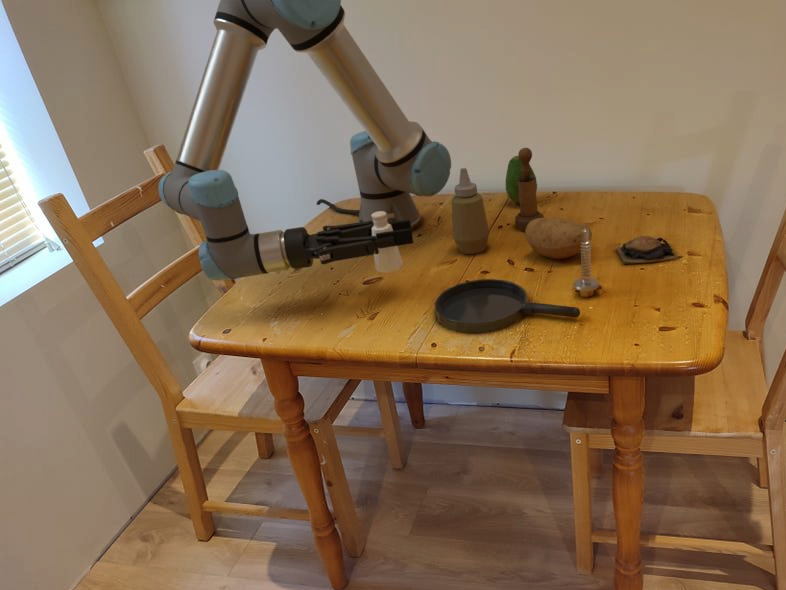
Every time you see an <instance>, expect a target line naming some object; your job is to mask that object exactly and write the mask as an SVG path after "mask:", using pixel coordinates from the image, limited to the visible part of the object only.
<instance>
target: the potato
mask: <svg viewBox="0 0 786 590" xmlns="http://www.w3.org/2000/svg"><path fill="white" fill-rule="evenodd" d="M585 228H586V229H589V240H590V242H591V241H592V237H593V232H592V229H591V228H590V227H589V226H587V224H584V223H582V222H579V221H573V220H569V219H562V218H550V217H549V218H548V217H543V218H538V219H534V220H532V221H530V222H529V224H528V225H527V227H526V231H524V236H525V240H526V242H527V244H528V245H529V246H530V248H532V251H534V252H536V254H537V253H538V254H539V255H540V256H543V257H546V258H548V259H552V260H563V259H567V258H570V257H574V256H577V255H578V254H580V253H581V245H582V244H581V242H582V230H583V229H585Z"/></svg>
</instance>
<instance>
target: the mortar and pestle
mask: <svg viewBox="0 0 786 590" xmlns="http://www.w3.org/2000/svg"><path fill="white" fill-rule="evenodd" d="M517 156H519V159H520V160H521V162H522V164H523V167H522V168H521V172H522V176H523V178H520V179H519V180H518V187H519V199H520V204H519V211H520V212H518V213H517V215H516V216H515V218H514V223H515V228H516V230H519V231H521V232H525V231H526V227H527V225H528V224H529V222H530V221H532V220H534V219H538V218H544V214H543V213H542V212H540V211H538V202H537V190H536V182H537V179H536V180H535V178H534V177H530V174H531V168H532V167H531V168H530V167H529V164H530V162H531V160H532V157H533V151H532V149H531V148H529V147H523V148H520V149H519V151H518V155H517Z"/></svg>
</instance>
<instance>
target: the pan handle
mask: <svg viewBox="0 0 786 590" xmlns="http://www.w3.org/2000/svg"><path fill="white" fill-rule="evenodd" d="M522 306H523V307H522V312H523V313H524V314H525V315H533V314H539V315H548V316H556V317H557V316H558V317H566V318H572V319H573V318H574V319H576V318H579V316H580V315H581V309H580V308H579V307H576V306H568V305H557V304H550V303H541V302H533V301H528V302H524V303H523V304H522Z"/></svg>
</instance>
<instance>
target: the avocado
mask: <svg viewBox="0 0 786 590" xmlns="http://www.w3.org/2000/svg"><path fill="white" fill-rule="evenodd" d="M522 167H523V164H522V162H521V160H520V159H519V156H518V155H514V156H513V157H512V158H510V160H509V161H508V164H507V169H506V175H505V191H506V193H507V196H508V198H509V199H510V200H511V201H512V202H514V203H515V204H519V205H520V199H519V187H518V180H519V179H520V178H523V176H522V172H521V168H522ZM529 167H530V168H531V174H530V177H534V178H535V180H536V191H537V189H538V182H537V176H536V175H535V172H534V169H533V168H532V166H531V164H530V163H529Z"/></svg>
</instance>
